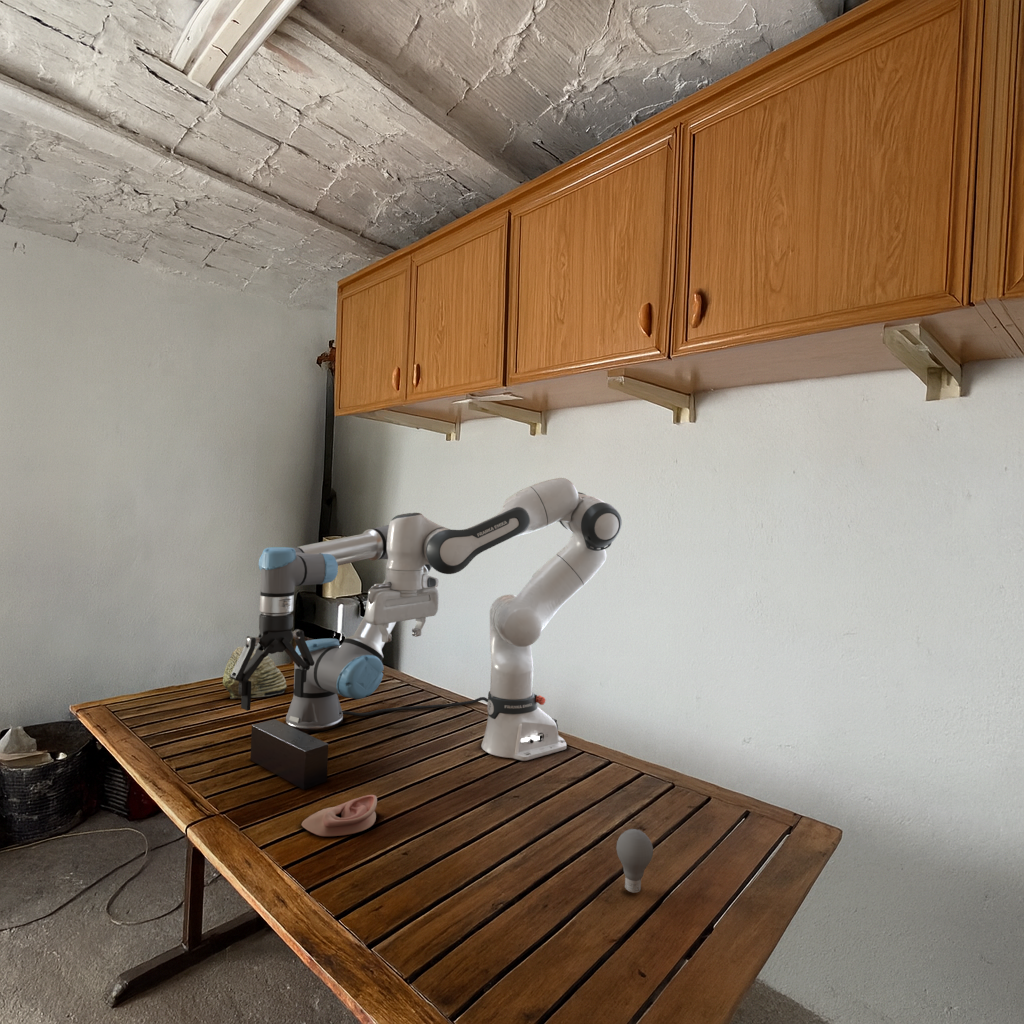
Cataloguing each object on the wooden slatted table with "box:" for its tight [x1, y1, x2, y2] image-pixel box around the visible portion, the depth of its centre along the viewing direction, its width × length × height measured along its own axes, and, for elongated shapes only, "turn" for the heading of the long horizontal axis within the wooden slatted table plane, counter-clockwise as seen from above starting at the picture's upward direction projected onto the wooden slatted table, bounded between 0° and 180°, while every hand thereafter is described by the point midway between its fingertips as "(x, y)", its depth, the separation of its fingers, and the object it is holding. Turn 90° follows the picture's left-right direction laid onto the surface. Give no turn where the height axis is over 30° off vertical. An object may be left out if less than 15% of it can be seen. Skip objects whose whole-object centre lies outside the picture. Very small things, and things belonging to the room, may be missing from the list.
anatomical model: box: [301, 794, 378, 837], centre depth 123 cm, size 13×4×12 cm
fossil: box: [222, 646, 288, 699], centre depth 198 cm, size 9×18×15 cm, turn 132°
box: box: [249, 718, 329, 790], centre depth 146 cm, size 22×6×8 cm, turn 51°
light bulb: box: [615, 828, 654, 894], centre depth 106 cm, size 6×6×10 cm
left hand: (273, 702), depth 150 cm, fingers open, 13 cm apart
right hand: (401, 638), depth 151 cm, fingers open, 8 cm apart
